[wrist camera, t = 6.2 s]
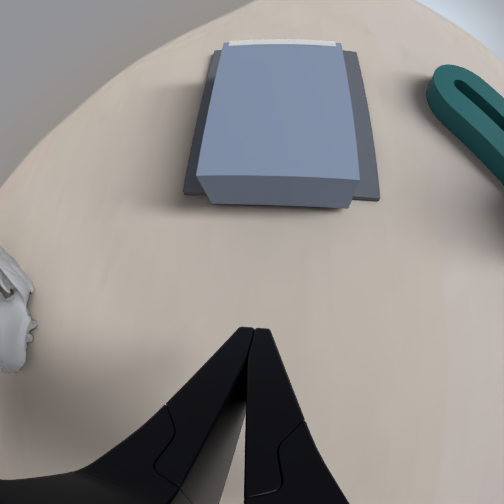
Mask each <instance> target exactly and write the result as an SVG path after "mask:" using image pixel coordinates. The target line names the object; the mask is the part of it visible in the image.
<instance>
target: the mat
mask: <svg viewBox="0 0 504 504" xmlns="http://www.w3.org/2000/svg"><path fill="white" fill-rule="evenodd" d="M221 52H222V50H217V51H214V54H213V58H212V62H211V66H210V69H209V73H208V77H207V81H206V85H205V89H204V93H203V98H202V102H201V106H200V110H199V115H198V119H197V124H196V128H195V133H194V138H193V142H192V147H191V152H190V157H189V162H188V167H187V172H186V178H185V183H184V189H183V193H184V194H185V195H191V194H206V193H205V191H204V189H203V187H202V185H201V184H200V182H199V180H198V178H197V176H196V173H197V167H198V162H199V156H200V151H201V145H202V140H203V135H204V130H205V125H206V120H207V115H208V110H209V105H210V100H211V96H212V91H213V86H214V82H215V78H216V73H217V69H218V65H219V60H220V56H221ZM343 56H344V61H345V67H346V72H347V78H348V84H349V91H350V97H351V104H352V111H353V119H354V127H355V135H356V144H357V154H358V164H359V176H360V181H359V183H358V186H357V188H356V191H355V193H354V195H353V198H352V199H358V200H372V201H379V199H380V191H379V181H378V172H377V163H376V156H375V148H374V141H373V134H372V128H371V122H370V116H369V110H368V104H367V99H366V94H365V89H364V84H363V79H362V75H361V70H360V66H359V61H358V57H357V53H356V52H352V51H343Z"/></svg>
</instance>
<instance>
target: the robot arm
mask: <svg viewBox="0 0 504 504" xmlns="http://www.w3.org/2000/svg"><path fill="white" fill-rule="evenodd" d="M245 414H246V431H245V477H244V504H349V502H348V501H347V499H346V497H345V496H344V494H343V492H342V491H341V489H340V488H339V486H338V484H337V483H336V481H335V479H334V478H333V476H332V474H331V473H330V471H329V469H328V468H327V466H326V464H325V462H324V461H323V459H322V457H321V455H320V453H319V451H318V449H317V447H316V445H315V443H314V440H313V438H312V436H311V434H310V431H309V429H308V426H307V423H306V422H305V419H304V416H303V414H302V411H301V408H300V406H299V403H298V401H297V398H296V396H295V393H294V390H293V388H292V385H291V383H290V380H289V377H288V375H287V372H286V370H285V367H284V364H283V362H282V359H281V357H280V354H279V351H278V349H277V346H276V343H275V341H274V338H273V336H272V333H271V331H270V329H266V328H256V329H254V328H252V327H239V328H238V329H237V330H236V331H235V332H234V334H233V335H232V336H231V337H230V338H229V339H228V340H227V341H226V342H225V343H224V344H223V345H222V346H221V347H220V348H219V349H218V351H217V352H216V353H215V354H214V355H213V356H212V357H211V358H210V359H209V360H208V361H207V362H206V363H205V364H204V365H203V366H202V367H201V368H200V369H199V370H198V371H197V372H196V373H195V374H194V375H193V377H192V378H191V379H190V380H189V381H188V382H187V383H186V384H185V385H184V386H183V387H182V388H181V389H180V390H179V391H178V392H177V393H176V394H175V395H174V396H173V397H172V398H171V399H170V400H169V401H168V402H167V403H166V405H164V406H163V407H162V408H161V409H160V410H159V411H158V412H157V413H156V414H155V415H154V416H152V417H151V418H150V419H149V420H148V421H147V422H146V423H145V424H144V425H143V426H141V427H140V428H139V429H138V430H136V431H135V432H134V433H133V434H131V435H130V436H129V437H128V438H126V439H125V440H124V441H122V442H121V443H120V444H118V445H117V446H115V447H114V448H113V449H111V450H110V451H109V452H107V453H106V454H104V455H103V456H102V457H100V458H99V459H97V460H96V461H94V462H93V463H91V464H90V465H88V466H86V467H84V468H82V469H79V470H77V471H73V472H69V473H63V474H57V475H51V476H43V477H36V478H27V479H16V480H1V479H0V504H219V502H220V498H221V495H222V492H223V489H224V485H225V482H226V479H227V476H228V472H229V469H230V466H231V462H232V459H233V455H234V452H235V449H236V445H237V442H238V438H239V435H240V431H241V428H242V424H243V421H244V417H245Z"/></svg>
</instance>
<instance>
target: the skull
mask: <svg viewBox="0 0 504 504" xmlns="http://www.w3.org/2000/svg"><path fill="white" fill-rule="evenodd" d="M0 269H1V270H0V285H1V287H2V288H3V289H4V290H5V291H6V292H8V293H10V290H11V289H12V290H13V292H14V294H13V295H12V296H11V297H9V298H5V297H4V296H3V294H2V293H1V291H0V368H1V369H2V371H3V372H8V373H16V372H18V371H20V370H21V369H20V368H21V367H22V366H23V365H24V363H25V361H26V350H25V349H27V342H31V341H32V340H33V336H32V335H31V334H30V333H29V331H30V330H32V329H34V328H35V327H36V326H37V325H38V323H37V321H31V316H30V315H29V314H30V312H29V310H28V309H27V308H26V305H27V302H28V299H29V293H30V292H31V293H33V292H34V286H33V284H32V281H31V280H30V279H29V278H28V277H27V276H26V275H25V273H24V272H23V271H22V270H21V269H20V267H19V265H18V263H17V262H16V261H15V260H14V259H13V257H11V256H10V255H9V254H8V253H7V252H6V251H5V250H4V249H3V248H2V247H0Z"/></svg>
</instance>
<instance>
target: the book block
mask: <svg viewBox="0 0 504 504" xmlns="http://www.w3.org/2000/svg"><path fill="white" fill-rule="evenodd" d="M196 176H197V178H198V180H199V182H200V184H201V185H202V187H203V189H204V191H205V193H206V194H207V196H208V198H209V200H210V202H211V203H212V204H251V205H284V206H309V207H330V208H348V207H349V205H350V203H351V200H352V198H353V195H354V193H355V191H356V188H357V186H358V183H359V181H360V176H359V164H358V154H357V144H356V135H355V127H354V119H353V111H352V104H351V97H350V91H349V84H348V78H347V72H346V67H345V61H344V56H343V51H342V46H341V43H335V41H321V40H297V39H264V40H240V41H229V43H224V44H223V48H222V52H221V56H220V60H219V65H218V69H217V73H216V78H215V82H214V86H213V91H212V96H211V100H210V105H209V110H208V115H207V120H206V125H205V130H204V135H203V140H202V145H201V151H200V156H199V162H198V167H197V173H196Z"/></svg>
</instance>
